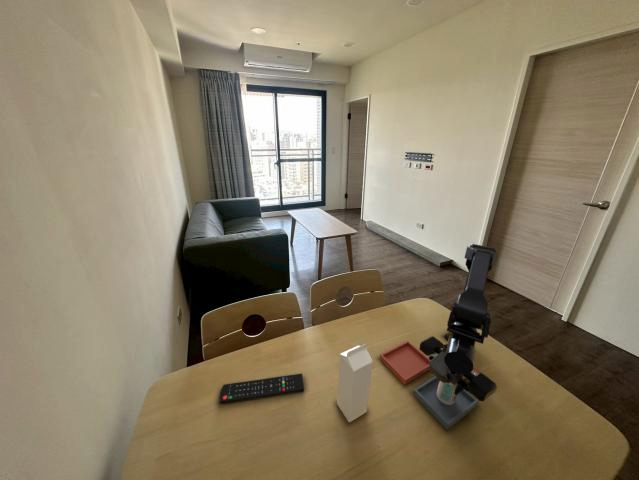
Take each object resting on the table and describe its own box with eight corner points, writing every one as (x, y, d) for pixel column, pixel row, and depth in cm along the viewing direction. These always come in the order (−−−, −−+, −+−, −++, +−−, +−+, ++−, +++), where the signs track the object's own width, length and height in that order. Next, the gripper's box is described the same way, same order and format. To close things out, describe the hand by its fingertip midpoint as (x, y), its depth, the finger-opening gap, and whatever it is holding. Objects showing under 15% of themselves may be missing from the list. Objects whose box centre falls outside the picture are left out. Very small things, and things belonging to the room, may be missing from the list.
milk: (366, 412, 69) (375, 352, 61) (348, 423, 66) (355, 362, 58) (353, 393, 74) (359, 335, 65) (336, 403, 71) (340, 344, 63)
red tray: (407, 344, 92) (407, 340, 91) (433, 367, 83) (434, 363, 82) (379, 358, 86) (380, 354, 85) (404, 385, 77) (405, 380, 76)
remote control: (304, 392, 74) (304, 388, 74) (218, 405, 70) (218, 402, 70) (302, 376, 79) (302, 373, 78) (222, 388, 75) (221, 384, 74)
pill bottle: (450, 391, 74) (459, 361, 70) (457, 407, 70) (466, 376, 65) (433, 389, 75) (441, 359, 70) (439, 405, 71) (447, 374, 66)
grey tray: (442, 375, 80) (443, 370, 79) (476, 405, 71) (478, 401, 70) (413, 394, 74) (414, 389, 73) (447, 430, 65) (448, 425, 64)
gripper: (410, 332, 69) (402, 373, 74) (478, 387, 54) (461, 433, 59) (437, 319, 74) (427, 358, 80) (506, 366, 59) (488, 410, 65)
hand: (448, 386), depth 71 cm, fingers closed on pill bottle, 5 cm apart
